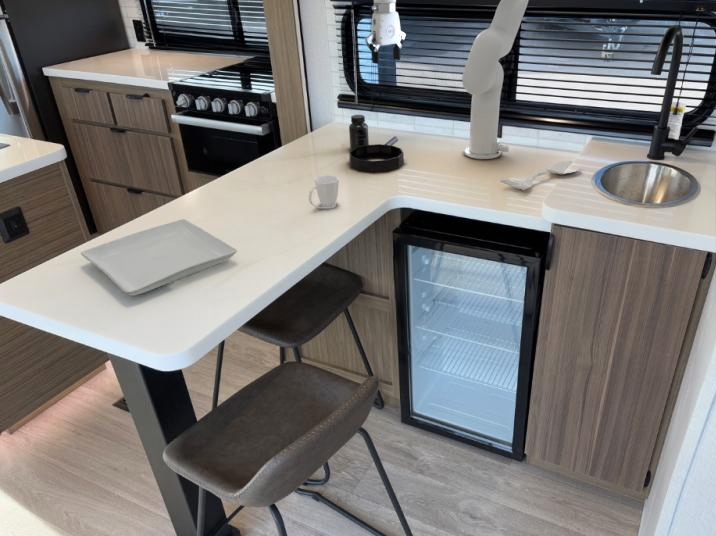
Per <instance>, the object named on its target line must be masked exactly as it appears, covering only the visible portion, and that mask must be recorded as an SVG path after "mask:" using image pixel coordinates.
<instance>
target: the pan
mask: <svg viewBox="0 0 716 536" xmlns="http://www.w3.org/2000/svg"><path fill="white" fill-rule="evenodd" d="M398 141H399V138H398V136H395V135H394V136H393V137H392V138H391V139H389V140H388V141H387V142H386V143H384V144H383V143H382V144H380V143H378V144H369V145H364V146H360V147H357V148H354V149H353V150H351V149H350V151H348V160H349V165H350V166H349V167H350V168H351V169H352V170H355V171H357V172H360V173H367V174H368V173H369V174H380V173H389V172H393V171H396V170H399V169H401V168H402V167H403V166H404V164H405V163H404V151H403V150H402V148H401V147H398V146H395V144H396V143H397V142H398Z"/></svg>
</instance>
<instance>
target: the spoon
mask: <svg viewBox="0 0 716 536" xmlns="http://www.w3.org/2000/svg"><path fill="white" fill-rule="evenodd" d="M573 161H574V160H564V161H560V162H556V163H554V164H552V165H550V166H549V167H548V168H547V169H546V168H545V169H539V171H536V173H533V174H532V175H531V176H529V177H528V178H527V179H524V180H510V179H505V178H501V179H500V180H499V181H500V183H503V184H504V185H507V186H508V187H512V188H515V189H518V190H522V191H523V190H527V189H530V188H531V187H533V182H534V181H535V179H536V178H537V177H539V176H542V175H548V174H549V173H551V174H557V175H562V176H563V173H564V172H565V170H566V169H567V168H568V167H569V166H570V165H571V164H572V163H573Z"/></svg>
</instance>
